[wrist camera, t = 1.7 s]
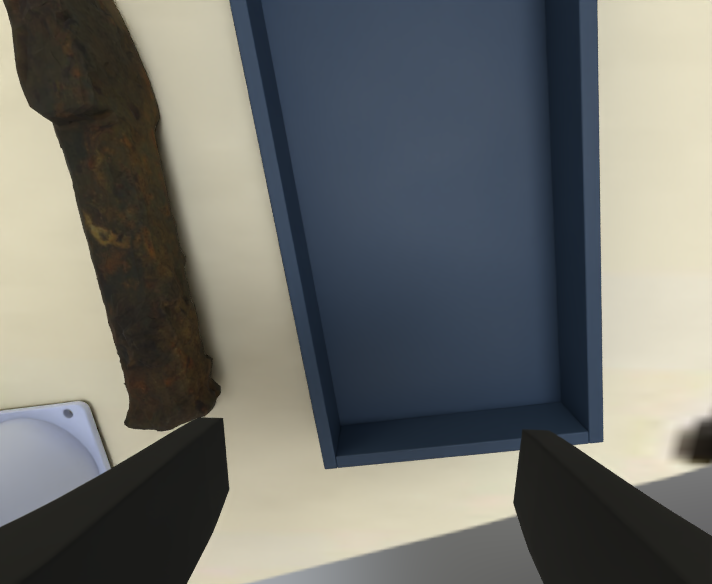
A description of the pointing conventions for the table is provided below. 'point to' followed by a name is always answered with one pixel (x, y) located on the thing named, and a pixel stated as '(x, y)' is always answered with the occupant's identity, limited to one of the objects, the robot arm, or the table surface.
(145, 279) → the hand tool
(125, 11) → the table surface
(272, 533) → the table surface
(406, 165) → the desk tray
